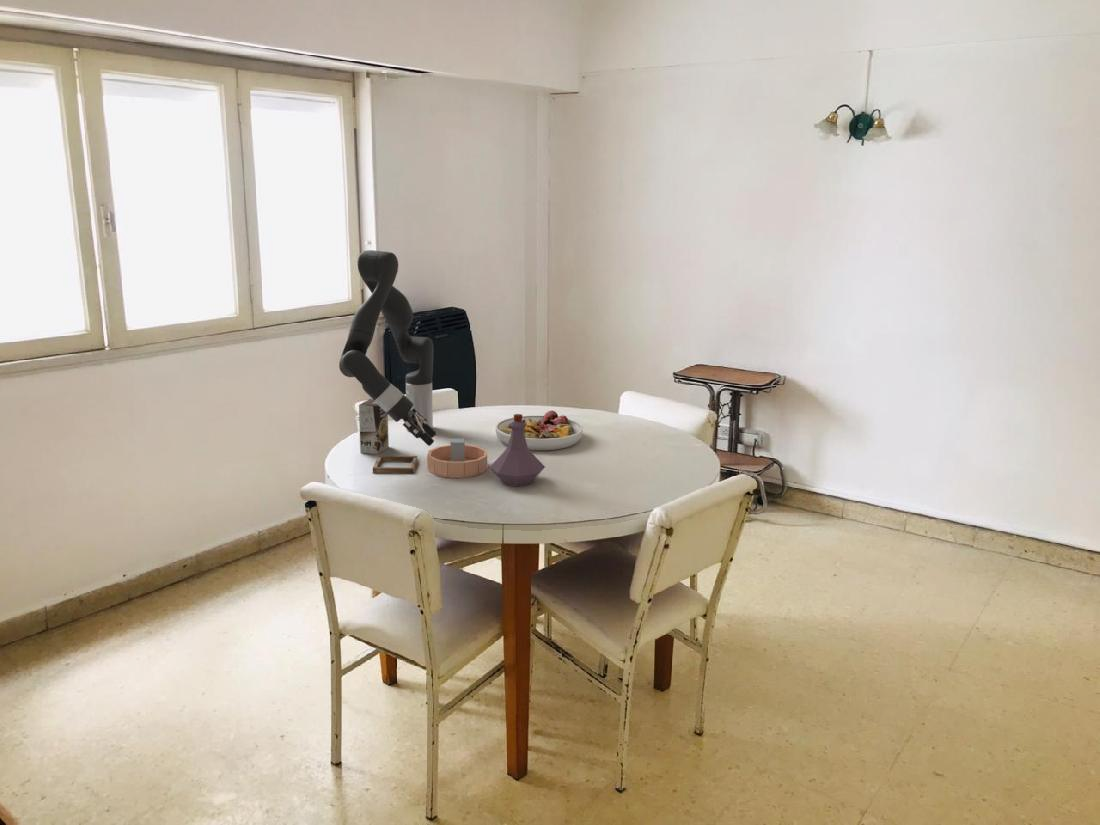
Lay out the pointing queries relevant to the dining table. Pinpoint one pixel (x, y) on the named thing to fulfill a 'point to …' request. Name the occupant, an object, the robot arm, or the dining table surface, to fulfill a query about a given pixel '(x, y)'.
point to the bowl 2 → (543, 431)
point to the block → (457, 450)
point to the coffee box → (373, 428)
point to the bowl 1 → (444, 467)
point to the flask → (517, 458)
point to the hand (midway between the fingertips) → (433, 439)
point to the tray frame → (395, 469)
